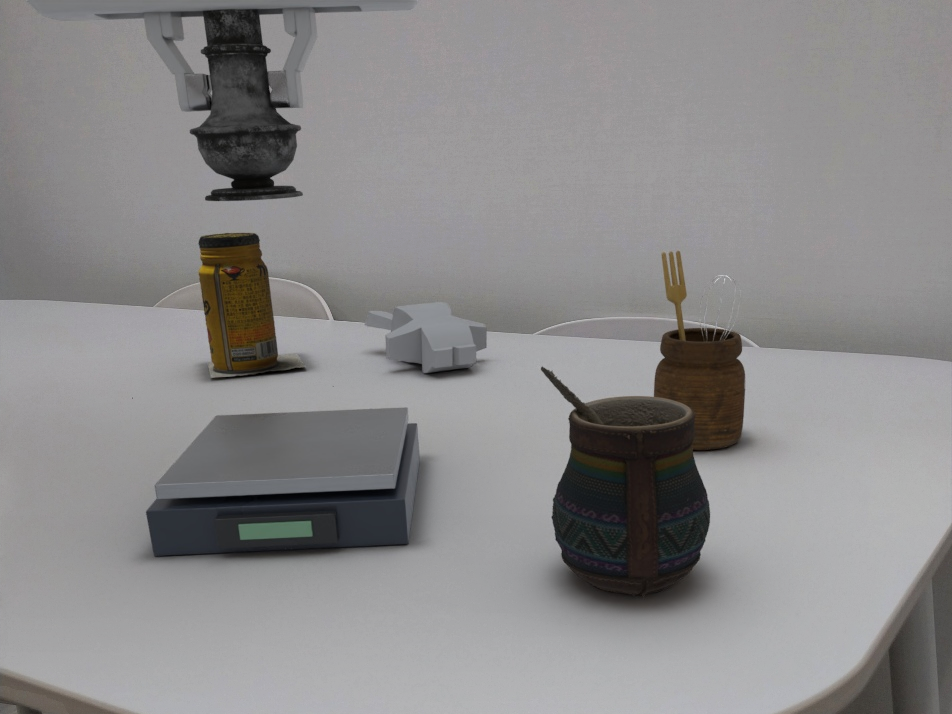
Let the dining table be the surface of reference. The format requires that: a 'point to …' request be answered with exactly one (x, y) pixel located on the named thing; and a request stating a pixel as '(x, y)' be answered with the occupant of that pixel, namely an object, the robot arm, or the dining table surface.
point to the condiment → (239, 307)
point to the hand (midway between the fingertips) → (243, 109)
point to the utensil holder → (702, 369)
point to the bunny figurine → (430, 336)
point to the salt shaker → (243, 111)
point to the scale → (289, 517)
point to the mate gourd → (630, 493)
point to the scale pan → (290, 454)
